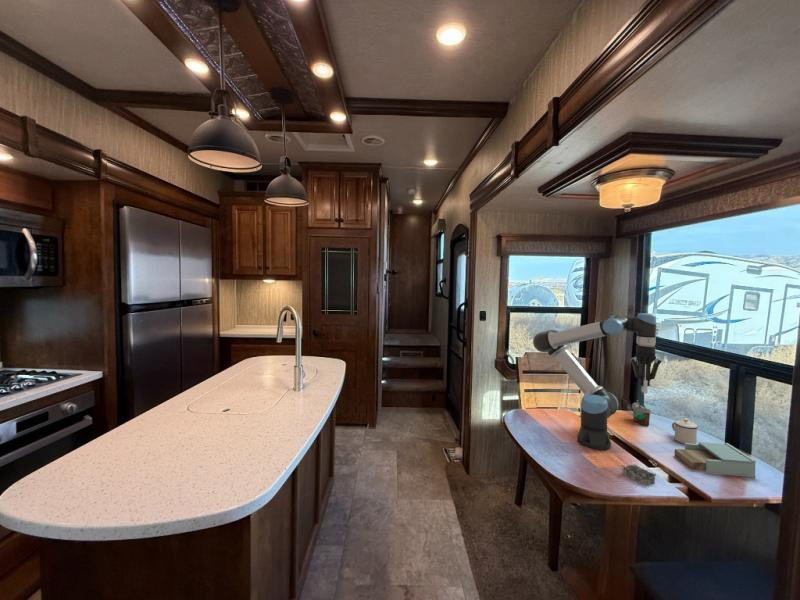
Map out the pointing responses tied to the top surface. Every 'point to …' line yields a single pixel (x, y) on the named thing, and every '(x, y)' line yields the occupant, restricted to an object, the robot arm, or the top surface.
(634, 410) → the food container
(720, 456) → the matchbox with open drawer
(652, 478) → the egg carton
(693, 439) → the teacup with lid
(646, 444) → the top surface
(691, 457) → the panel
